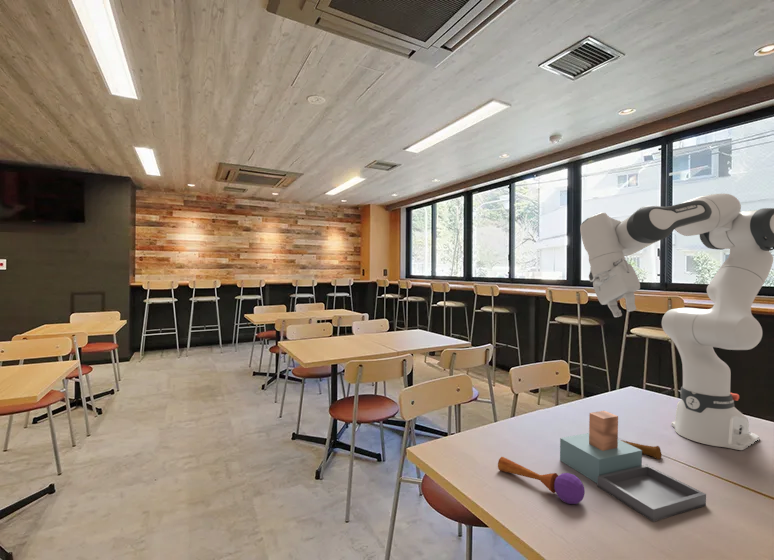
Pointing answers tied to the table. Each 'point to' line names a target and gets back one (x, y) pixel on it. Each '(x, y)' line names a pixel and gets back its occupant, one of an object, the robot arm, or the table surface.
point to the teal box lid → (597, 456)
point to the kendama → (549, 481)
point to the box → (651, 492)
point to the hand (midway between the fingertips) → (624, 313)
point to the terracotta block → (603, 430)
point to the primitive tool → (647, 449)
